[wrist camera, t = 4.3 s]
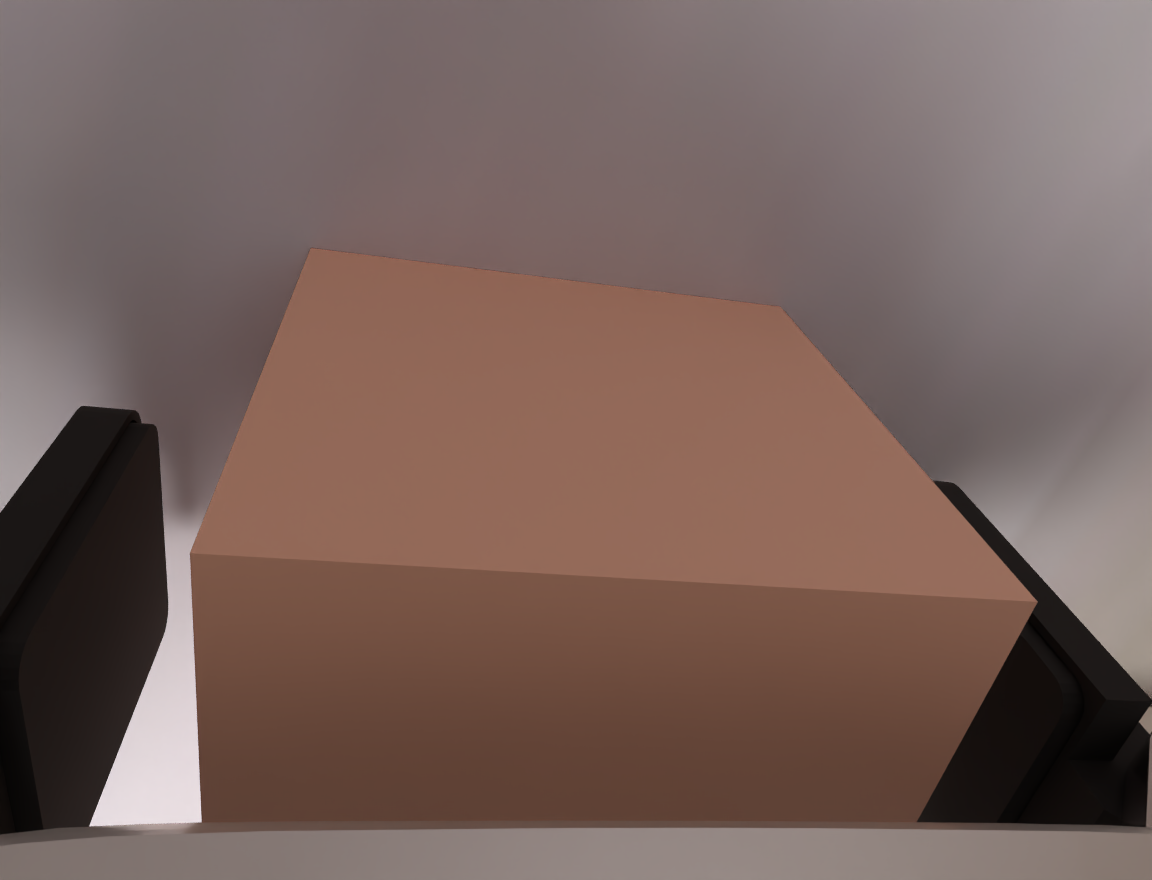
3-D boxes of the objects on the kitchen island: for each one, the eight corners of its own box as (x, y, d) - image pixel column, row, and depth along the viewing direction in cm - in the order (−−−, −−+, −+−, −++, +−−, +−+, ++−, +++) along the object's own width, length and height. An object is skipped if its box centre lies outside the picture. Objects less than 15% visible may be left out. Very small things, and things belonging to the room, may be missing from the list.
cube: (311, 245, 11) (190, 551, 5) (778, 303, 12) (1038, 600, 7) (299, 626, 13) (212, 1060, 8) (675, 642, 15) (801, 1030, 10)
